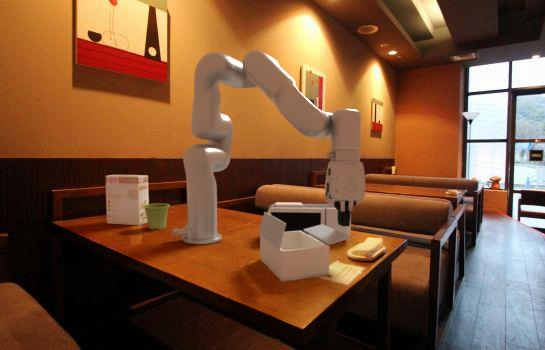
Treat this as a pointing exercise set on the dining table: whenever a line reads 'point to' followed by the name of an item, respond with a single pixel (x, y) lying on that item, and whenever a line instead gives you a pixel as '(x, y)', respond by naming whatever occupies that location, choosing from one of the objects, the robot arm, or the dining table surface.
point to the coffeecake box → (126, 199)
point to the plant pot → (156, 215)
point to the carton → (296, 256)
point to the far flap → (326, 234)
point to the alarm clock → (307, 216)
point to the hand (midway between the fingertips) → (343, 225)
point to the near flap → (272, 229)
